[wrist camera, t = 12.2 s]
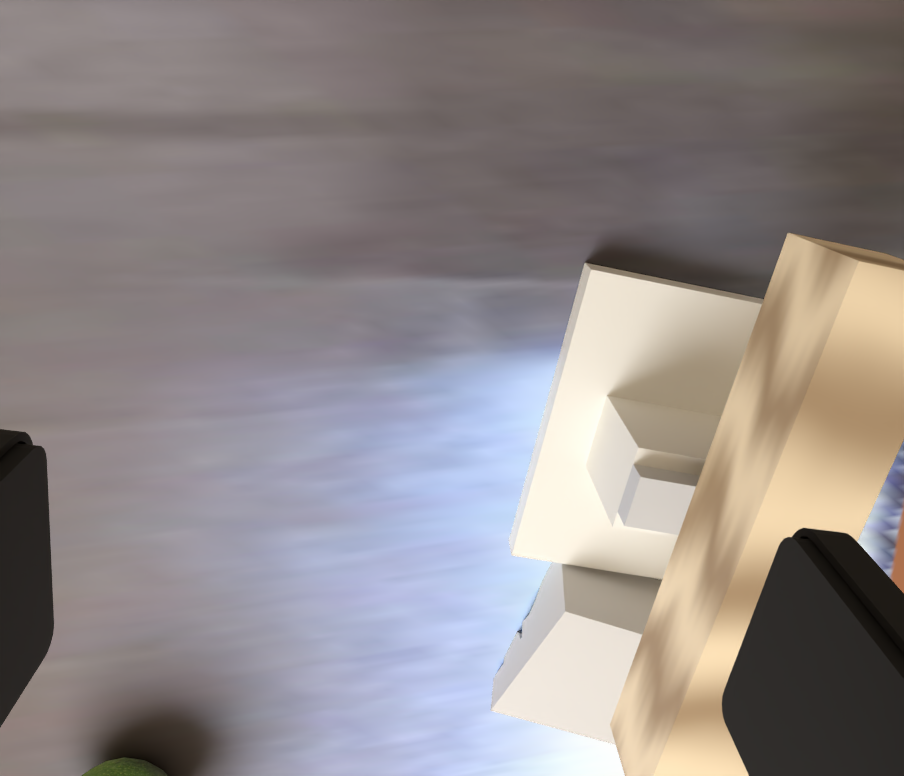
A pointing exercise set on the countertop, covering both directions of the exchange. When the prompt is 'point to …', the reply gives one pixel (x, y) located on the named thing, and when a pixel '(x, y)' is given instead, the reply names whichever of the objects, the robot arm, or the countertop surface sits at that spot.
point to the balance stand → (629, 420)
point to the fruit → (125, 768)
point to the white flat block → (575, 650)
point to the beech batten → (769, 490)
